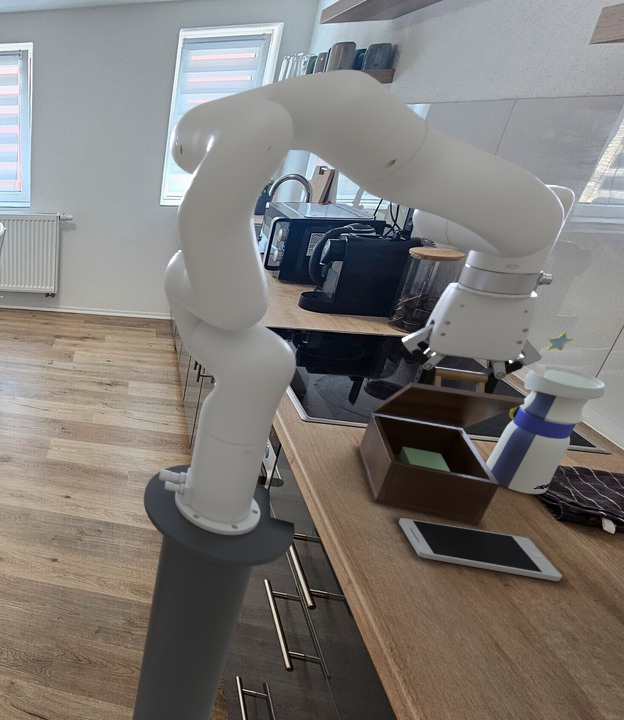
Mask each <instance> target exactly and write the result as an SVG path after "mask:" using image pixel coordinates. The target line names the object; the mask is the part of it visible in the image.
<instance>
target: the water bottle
mask: <svg viewBox="0 0 624 720" xmlns="http://www.w3.org/2000/svg"><path fill="white" fill-rule="evenodd" d="M548 341H549V342H550V343H551V344H550V345H549V346H548V347H547V348H546V351H550V350H554V349H556V350H558V351H560V352H561V351H563V349H564V346H565V344H567V343H570V342H572V341H574V338H570V337H567V332H566V331H564V332H563V333H561V334H560V335H559V336H558V337H551V338H548ZM523 383H524V385H523V388H524V389H525V390H529V391H531V392H529V394H528V395H527V396H526V397H524V398H523V399H524V404H523V405H520V406H518V407H515V408H513V409H510V410H509V413H508V416H509V418H510V419H511V421H510V422H509V423H508V424H507V425H506V427H505V428H504V430H503V432H502V434H501V435H500V437H499V440H498V442H497V443H496V445H495V447H494V448H493V450H492V452H491V453H490V455H489V457H488V459H487V461H486V462H485V463H486V464H487V466H488V467H489V469H490V471H491V472H492V474H493V475H494V477H495V478H496V480H497V481H498V483H499V484H500V485H499V486H502V487H504V488H507V489H510V490H513V491H516V492H520V493H524V494H530V495H540V494H544V493H546V492H547V490H548V489H549V486H548V487H547V488H544V489H534V488H536V487H537V486H541V485H547V484H549V483H550V484H551V481H552V480H553V477H554V475H555V474H556V472H557V469H558V467H559V465H560V463H561V461H562V460H563V458H564V456H565V454H566V453H567V451H568V449H569V446H570V444H571V437H570V436H571V435H572V432H573V431H574V430H575V427H576V426H577V424H580V423H583V421H584V419H585V417H584V415H583V409H584V406H585V405H586V404H587V403H588V401H589V400H598V399H601V398H602V397H603V396H604V395H605V389H606V384H605V383H604V381H602V380H600V379H599V378H597V377H595V376H592V375H589V374H587V373H584V372H581V371H578V370H574V369H570V368H565V367H559V366H553V365H551V366H546V367H545V371H544V373H543V375H539V374H537V373H536V372H535V371H534V370H533V369H530V370H529V371H528V373H526V376H525V378H524V380H523ZM550 484H549V485H550Z"/></svg>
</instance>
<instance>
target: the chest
mask: <svg viewBox="0 0 624 720" xmlns="http://www.w3.org/2000/svg"><path fill="white" fill-rule="evenodd" d="M402 447H408V448H413V449H418V450H424V451H429V452H434V453H439V454H441V455H442V457H443V459H444V461H445V463H446V465H447V466H448V468H449V470H450V472H448V471H443V470H438V469H433V468H428V467H423V466H418V465H413V464H408V463H403V462H398V461H397V460H398V457H399V455H400V452H401V450H402ZM358 451H359V453H360V457H361V461H362V463H363V466H364V469H365V474H366V476H367V480H368V483H369V486H370V489H371V492H372V495H373V499H374V502H375V503H379V504H383V505H386V506H387V505H388V506H392V507H396V508H400V509H404V510H409V511H413V512H418V513H421V514H426V515H430V516H435V517H439V518H442V519H448V520H452V521H457V522H460V523H465V524H470V525H474V526H479V524H480V523H481V521H482V519H483V517H484V515H485V514H486V511H487V509H488V507H489V506H490V504H491V502H492V500H493V498H494V496H495V495H496V493H497V491H498V489H499V487H500V486H501V485H500V484H499V483H498V481H497V480H496V478H495V477H494V475H493V474H492V472H491V471H490V469H489V467H488V466H487V464H486V462H485V460H484V458H483V457H482V455H481V454H480V452H479V450H478V449H477V448H476V446H475V445H474V443H473V442H472V440H471V439H470V437H469V436H468V434H467V433H466V431H465V430H464V428H459V427H453V426H447V425H441V424H435V423H430V422H424V421H418V420H412V419H406V418H400V417H394V416H389V415H383V414H377V413H373V412H371V414H370V416H369V420H368V422H367V426H366V428H365V431H364V433H363V436H362V439H361V442H360V445H359V447H358Z"/></svg>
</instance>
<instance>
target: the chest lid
mask: <svg viewBox="0 0 624 720" xmlns="http://www.w3.org/2000/svg"><path fill="white" fill-rule="evenodd" d="M434 370H435V371H436V373H435V376H434V378H433V381H432V384H431V385H427V384H420V383H414V381H413V382H410V383H408V384H407V385H405V386H404V387H403V388H401V389H399V390H398V391H397V392H395V393H394V394H392V395H391V396H389V397H388V398H386V399H384V400H383V401H382V402H380V403H379V404H378V405H377V406H374V407H373V408H372V413H374V414H380V415H386V416H392V417H398V418H404V419H410V420H415V421H421V422H427V423H433V424H439V425H445V426H451V427H456V428H462V429H466V428H468V427H471V426H473V425H476V424H478V423H480V422H483V421H485V420H488V419H490V418H493V417H496V416H498V415H501V414H503V413H505V412H508V411H511V409H513V408H515V407H518V406H520V405H523V404H524V399H525V398H522V397H514V396H508V395H502V394H501V395H500V394H494V393H493V394H488V393H484V390H485V384H486V382H487V381H488V374H486V373H480V372H478V371H471V370H464V369H463V370H462V369H455V368H449V367H441V366H434ZM442 379H443V380H452V381H458V382H465V383H472V384H475V383H477V386H476V392H475V391H472V390H468V389H460V388H454V387H446V386H442Z"/></svg>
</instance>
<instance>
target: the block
mask: <svg viewBox="0 0 624 720" xmlns="http://www.w3.org/2000/svg"><path fill="white" fill-rule="evenodd" d="M397 461H398V462H403V463H408V464H413V465H418V466H423V467H428V468H433V469H438V470H443V471H448V472H450V470H449V468H448V466H447V465H446V463H445V461H444V459H443V457H442V455H441V454H439V453H434V452H429V451H424V450H418V449H413V448H408V447H402V450H401V452H400V455H399V457H398V460H397Z"/></svg>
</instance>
